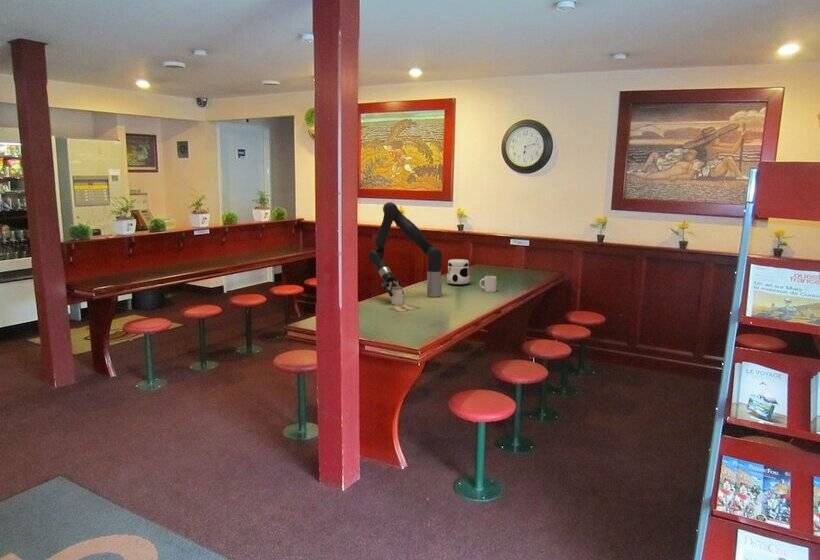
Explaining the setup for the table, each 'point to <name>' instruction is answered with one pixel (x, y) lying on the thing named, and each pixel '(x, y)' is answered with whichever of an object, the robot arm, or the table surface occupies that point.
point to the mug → (489, 283)
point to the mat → (403, 308)
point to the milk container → (458, 272)
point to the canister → (397, 295)
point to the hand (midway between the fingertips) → (397, 295)
